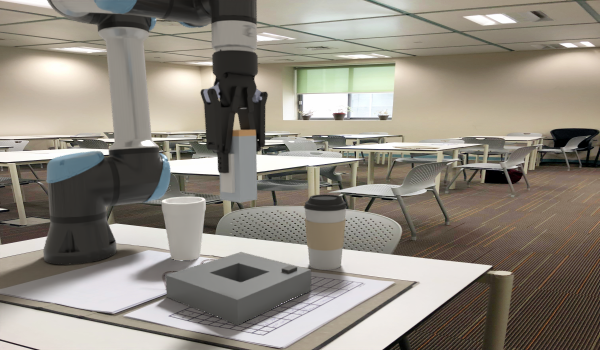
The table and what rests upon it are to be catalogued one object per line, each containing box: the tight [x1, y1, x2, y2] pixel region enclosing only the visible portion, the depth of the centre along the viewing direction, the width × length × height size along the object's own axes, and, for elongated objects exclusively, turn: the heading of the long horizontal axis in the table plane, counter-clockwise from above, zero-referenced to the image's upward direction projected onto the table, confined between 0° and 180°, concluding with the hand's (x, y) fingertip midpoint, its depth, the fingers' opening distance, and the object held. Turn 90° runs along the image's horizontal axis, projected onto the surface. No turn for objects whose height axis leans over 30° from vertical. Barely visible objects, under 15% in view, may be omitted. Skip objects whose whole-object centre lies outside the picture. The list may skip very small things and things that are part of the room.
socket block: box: [165, 251, 312, 326], centre depth 83 cm, size 18×18×5 cm
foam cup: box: [161, 196, 207, 261], centre depth 105 cm, size 10×9×13 cm
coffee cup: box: [303, 193, 348, 271], centre depth 99 cm, size 9×9×15 cm
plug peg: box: [219, 129, 258, 204], centre depth 80 cm, size 5×4×12 cm
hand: (238, 190), depth 81 cm, fingers closed on plug peg, 4 cm apart
